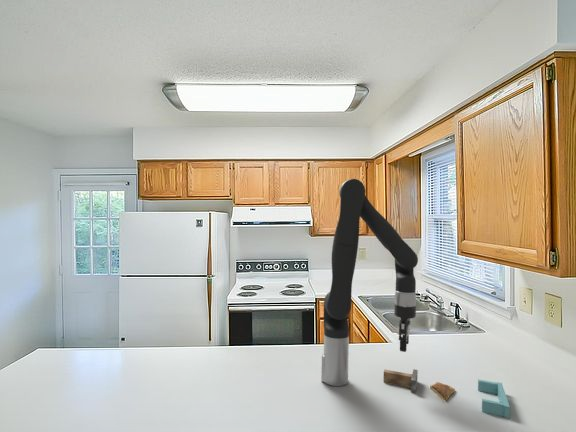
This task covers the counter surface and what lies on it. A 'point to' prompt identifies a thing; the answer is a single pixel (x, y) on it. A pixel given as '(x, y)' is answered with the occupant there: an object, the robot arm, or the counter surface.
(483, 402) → the u-shaped bracket
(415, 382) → the hammer
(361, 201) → the robot arm
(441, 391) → the shard
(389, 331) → the counter surface
